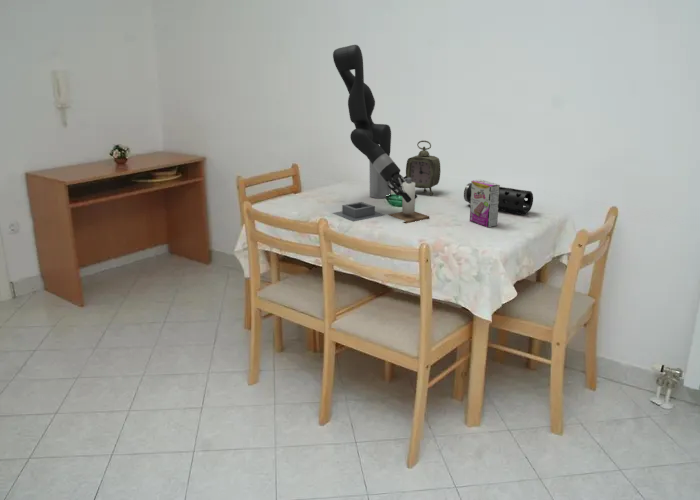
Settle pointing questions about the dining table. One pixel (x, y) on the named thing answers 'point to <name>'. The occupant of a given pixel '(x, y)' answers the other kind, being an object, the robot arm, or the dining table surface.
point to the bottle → (410, 190)
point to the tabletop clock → (423, 169)
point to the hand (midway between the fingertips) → (412, 199)
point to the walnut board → (410, 216)
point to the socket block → (358, 211)
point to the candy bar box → (484, 203)
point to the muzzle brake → (508, 199)
